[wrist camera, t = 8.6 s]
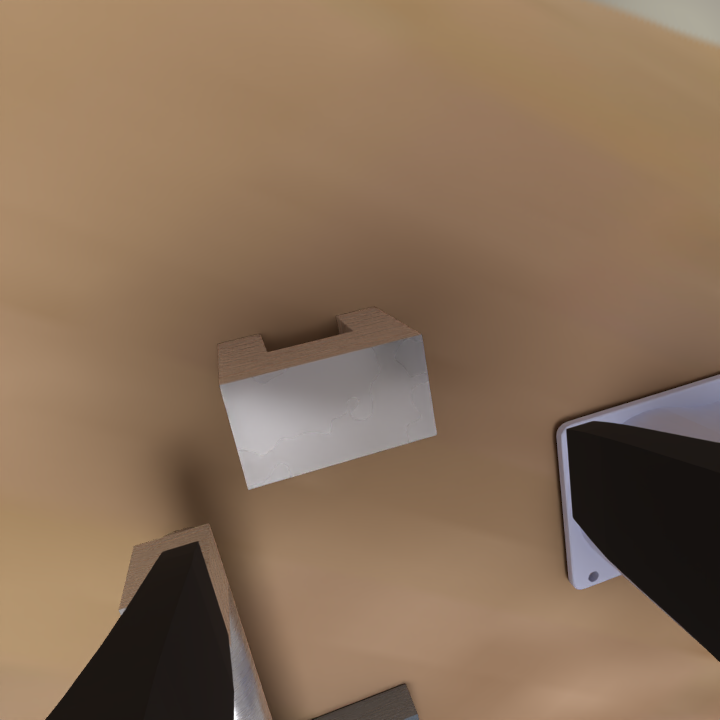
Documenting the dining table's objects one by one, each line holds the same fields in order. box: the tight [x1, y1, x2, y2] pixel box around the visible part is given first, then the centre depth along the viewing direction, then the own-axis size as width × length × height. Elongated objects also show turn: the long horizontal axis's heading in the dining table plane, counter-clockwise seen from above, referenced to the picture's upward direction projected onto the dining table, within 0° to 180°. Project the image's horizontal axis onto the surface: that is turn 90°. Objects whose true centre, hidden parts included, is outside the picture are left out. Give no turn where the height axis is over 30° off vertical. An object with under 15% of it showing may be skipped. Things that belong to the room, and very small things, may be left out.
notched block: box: [218, 307, 437, 490], centre depth 17 cm, size 5×3×4 cm, turn 101°
